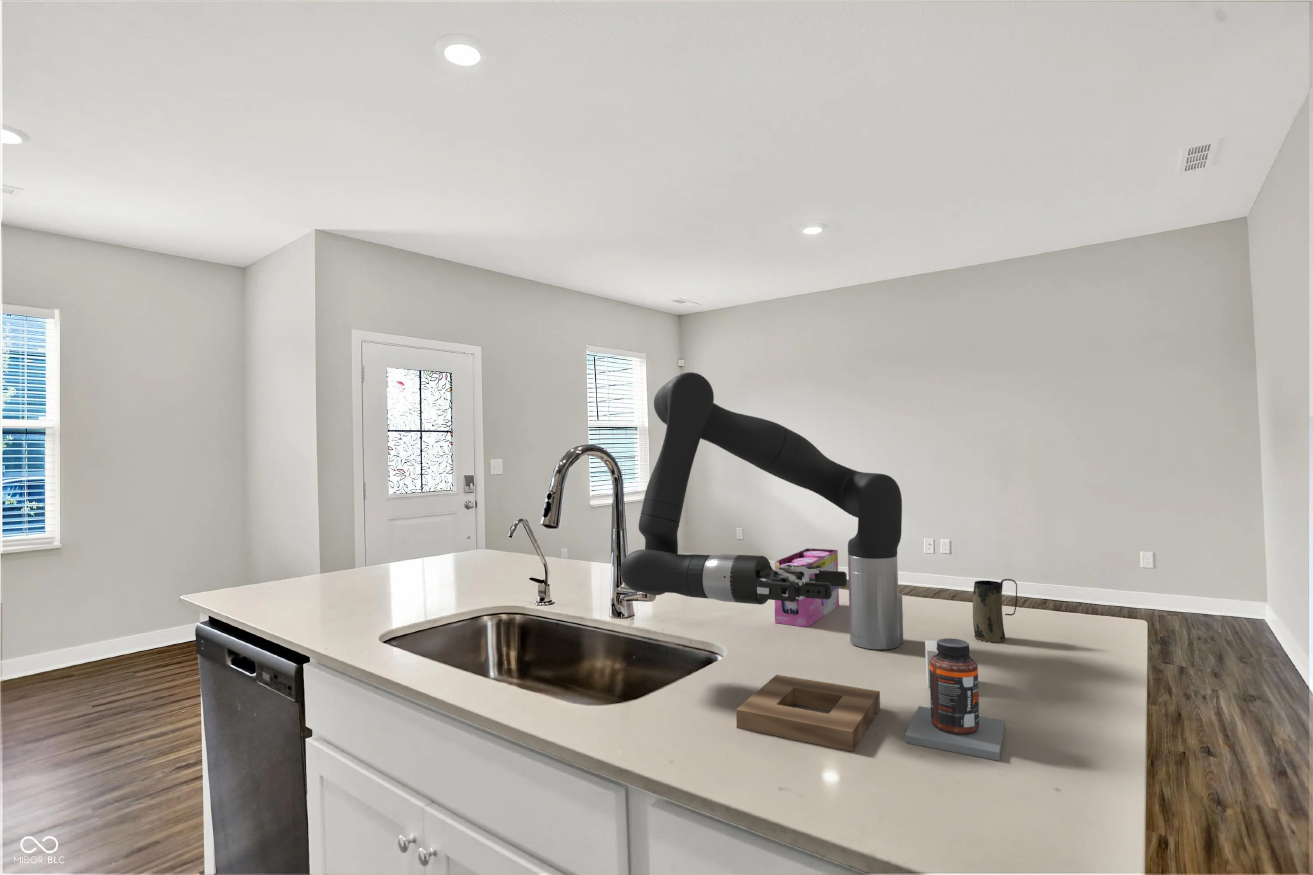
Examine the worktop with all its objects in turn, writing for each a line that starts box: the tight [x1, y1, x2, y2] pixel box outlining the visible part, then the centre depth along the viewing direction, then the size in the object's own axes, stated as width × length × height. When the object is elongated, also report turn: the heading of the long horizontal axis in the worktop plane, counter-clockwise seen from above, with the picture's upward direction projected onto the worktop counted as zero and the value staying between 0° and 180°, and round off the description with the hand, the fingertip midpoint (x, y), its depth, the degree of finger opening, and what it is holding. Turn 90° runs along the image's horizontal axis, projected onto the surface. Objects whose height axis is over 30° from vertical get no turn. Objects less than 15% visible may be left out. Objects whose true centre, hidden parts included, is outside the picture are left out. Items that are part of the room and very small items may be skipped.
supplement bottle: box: [929, 638, 980, 734], centre depth 90 cm, size 6×6×11 cm
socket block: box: [735, 674, 881, 752], centre depth 97 cm, size 16×16×2 cm
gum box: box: [774, 547, 840, 628], centre depth 155 cm, size 24×8×14 cm, turn 148°
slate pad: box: [904, 705, 1006, 762], centre depth 90 cm, size 11×11×1 cm
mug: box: [972, 578, 1018, 644], centre depth 133 cm, size 8×6×12 cm
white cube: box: [924, 640, 938, 689], centre depth 109 cm, size 6×6×6 cm
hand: (839, 584), depth 100 cm, fingers open, 8 cm apart
